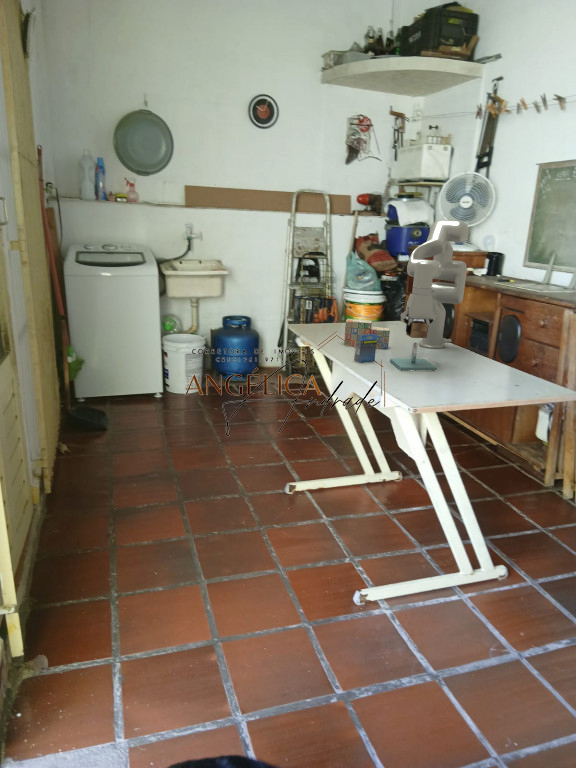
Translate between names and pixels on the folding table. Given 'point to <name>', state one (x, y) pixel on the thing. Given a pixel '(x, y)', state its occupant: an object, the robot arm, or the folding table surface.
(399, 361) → the teal flat board
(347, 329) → the stack of blocks
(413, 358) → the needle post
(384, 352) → the folding table surface
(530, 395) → the folding table surface
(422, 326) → the hollow wooden block
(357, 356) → the label tape box
